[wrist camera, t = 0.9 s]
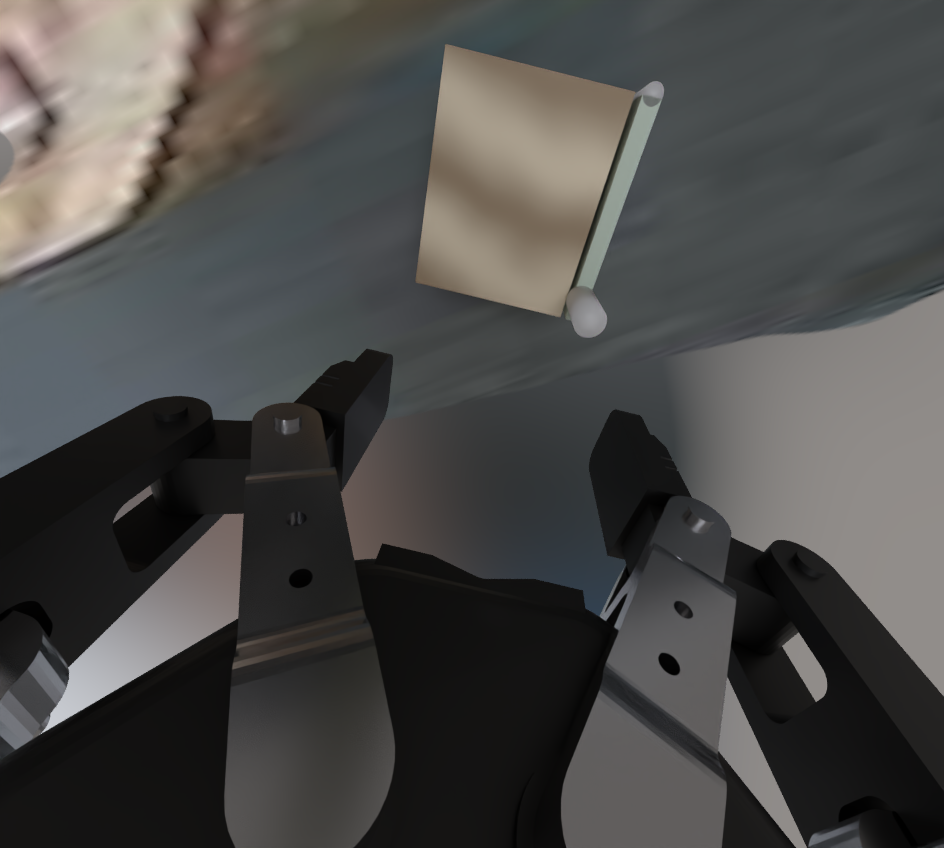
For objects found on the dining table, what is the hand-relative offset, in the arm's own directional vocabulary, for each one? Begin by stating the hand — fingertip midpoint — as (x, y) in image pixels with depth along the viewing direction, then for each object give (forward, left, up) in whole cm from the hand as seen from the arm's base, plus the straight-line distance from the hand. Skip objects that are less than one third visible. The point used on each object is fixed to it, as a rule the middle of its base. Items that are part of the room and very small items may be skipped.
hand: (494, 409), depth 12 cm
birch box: (-5, -1, -28) cm, 28 cm away
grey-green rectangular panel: (-5, +5, -27) cm, 28 cm away
